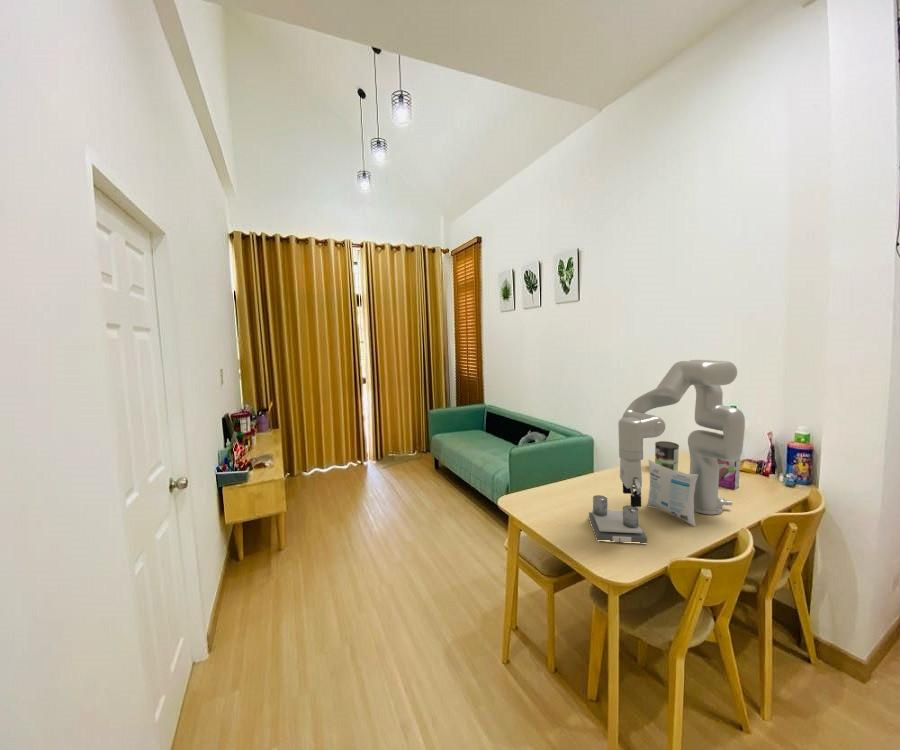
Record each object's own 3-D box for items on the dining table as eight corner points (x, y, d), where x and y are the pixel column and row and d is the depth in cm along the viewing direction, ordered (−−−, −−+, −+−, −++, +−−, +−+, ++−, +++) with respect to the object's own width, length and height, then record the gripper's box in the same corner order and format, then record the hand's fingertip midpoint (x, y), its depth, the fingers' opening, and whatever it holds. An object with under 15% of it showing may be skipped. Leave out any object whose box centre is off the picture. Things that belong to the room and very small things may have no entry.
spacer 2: (621, 520, 133) (621, 504, 133) (635, 521, 132) (636, 505, 132) (624, 527, 129) (625, 511, 128) (640, 528, 128) (640, 512, 127)
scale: (632, 520, 141) (632, 510, 140) (647, 545, 125) (647, 534, 124) (588, 518, 144) (588, 508, 143) (597, 542, 128) (597, 531, 127)
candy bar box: (706, 482, 170) (707, 448, 168) (710, 479, 173) (711, 446, 171) (735, 490, 161) (736, 454, 159) (739, 487, 164) (741, 451, 162)
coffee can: (663, 476, 179) (664, 448, 178) (650, 468, 189) (650, 442, 188) (683, 474, 180) (684, 446, 179) (668, 466, 190) (669, 440, 189)
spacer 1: (605, 510, 141) (605, 495, 141) (608, 516, 136) (608, 501, 136) (592, 509, 142) (591, 495, 142) (594, 516, 137) (594, 501, 137)
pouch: (687, 530, 133) (689, 477, 130) (641, 508, 150) (642, 460, 148) (702, 524, 136) (703, 472, 133) (654, 503, 153) (655, 457, 151)
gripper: (613, 445, 136) (614, 488, 139) (626, 462, 120) (627, 512, 122) (634, 444, 135) (635, 488, 137) (651, 462, 118) (651, 512, 121)
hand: (631, 499), depth 130 cm, fingers open, 9 cm apart
